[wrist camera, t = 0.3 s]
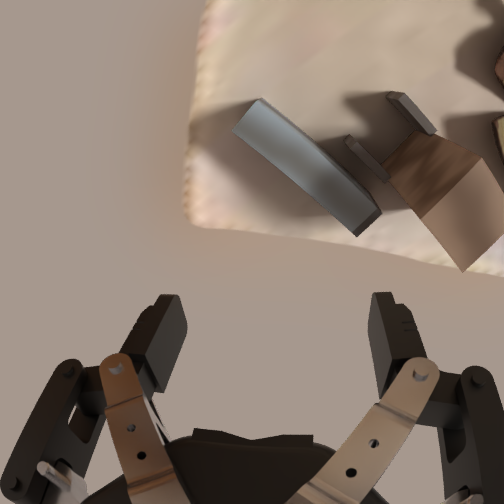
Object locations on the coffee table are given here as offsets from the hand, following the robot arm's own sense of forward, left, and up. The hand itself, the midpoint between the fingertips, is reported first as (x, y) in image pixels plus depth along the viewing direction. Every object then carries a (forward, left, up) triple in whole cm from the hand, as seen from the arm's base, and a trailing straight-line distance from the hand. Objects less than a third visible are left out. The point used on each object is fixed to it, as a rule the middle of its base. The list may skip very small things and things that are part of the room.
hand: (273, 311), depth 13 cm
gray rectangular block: (-2, +1, -25) cm, 25 cm away
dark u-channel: (-10, +9, -25) cm, 28 cm away
